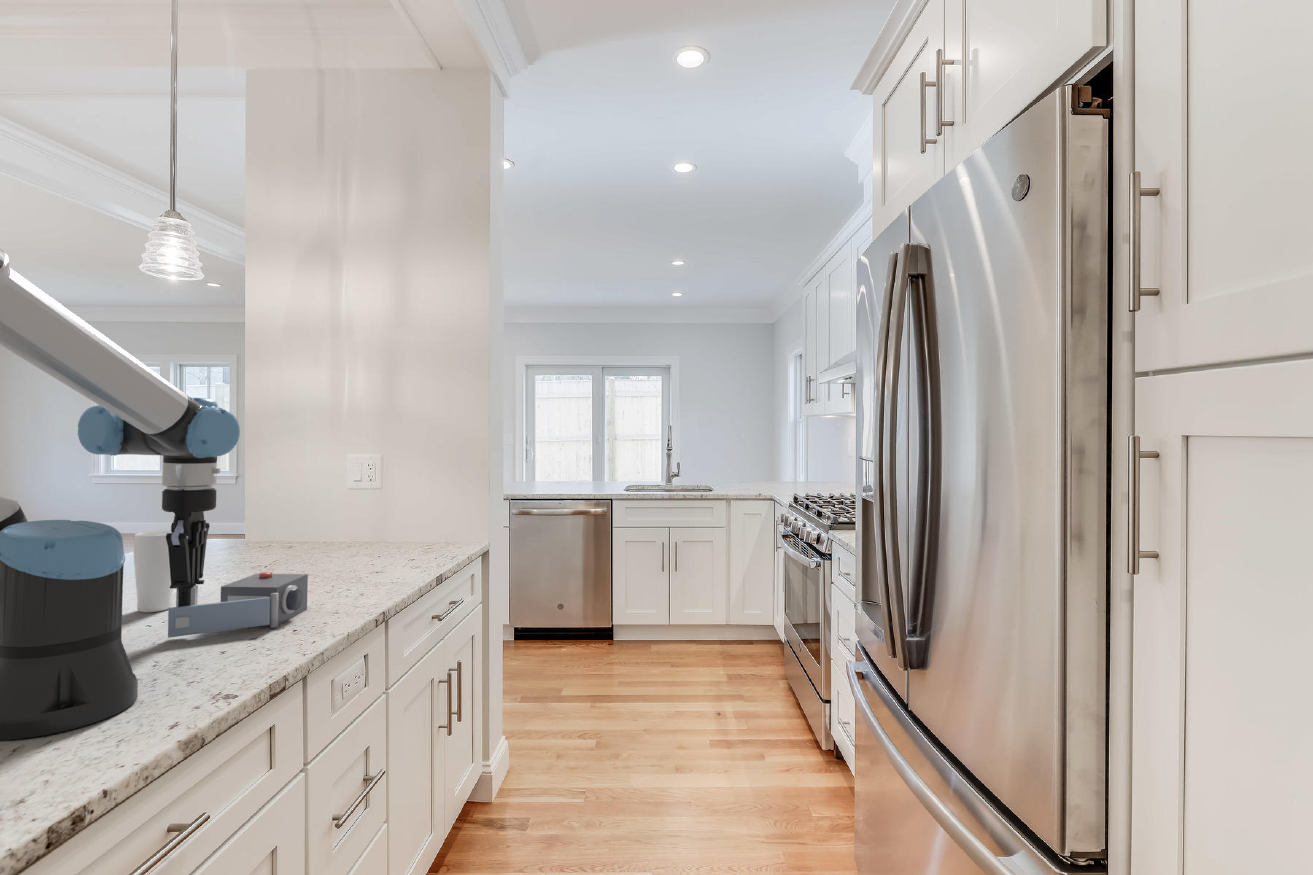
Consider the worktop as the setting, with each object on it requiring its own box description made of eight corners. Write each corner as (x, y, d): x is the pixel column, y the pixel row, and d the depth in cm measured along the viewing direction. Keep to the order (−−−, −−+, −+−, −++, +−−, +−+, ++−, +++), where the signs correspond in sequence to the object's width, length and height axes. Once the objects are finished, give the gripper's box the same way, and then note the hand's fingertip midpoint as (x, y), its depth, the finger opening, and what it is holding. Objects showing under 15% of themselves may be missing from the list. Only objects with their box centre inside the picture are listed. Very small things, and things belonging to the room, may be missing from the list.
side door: (278, 627, 114) (278, 594, 114) (167, 642, 105) (168, 606, 105) (277, 625, 116) (278, 592, 116) (168, 639, 107) (168, 603, 107)
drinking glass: (185, 605, 128) (186, 531, 128) (155, 615, 121) (156, 536, 121) (154, 604, 128) (155, 529, 128) (122, 613, 122) (124, 535, 122)
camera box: (283, 626, 116) (284, 583, 116) (218, 625, 115) (219, 582, 115) (315, 609, 127) (316, 570, 127) (255, 608, 127) (256, 569, 127)
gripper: (202, 491, 105) (198, 634, 105) (227, 484, 117) (223, 612, 117) (147, 490, 102) (143, 637, 102) (178, 483, 114) (174, 615, 114)
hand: (186, 624), depth 110 cm, fingers closed
